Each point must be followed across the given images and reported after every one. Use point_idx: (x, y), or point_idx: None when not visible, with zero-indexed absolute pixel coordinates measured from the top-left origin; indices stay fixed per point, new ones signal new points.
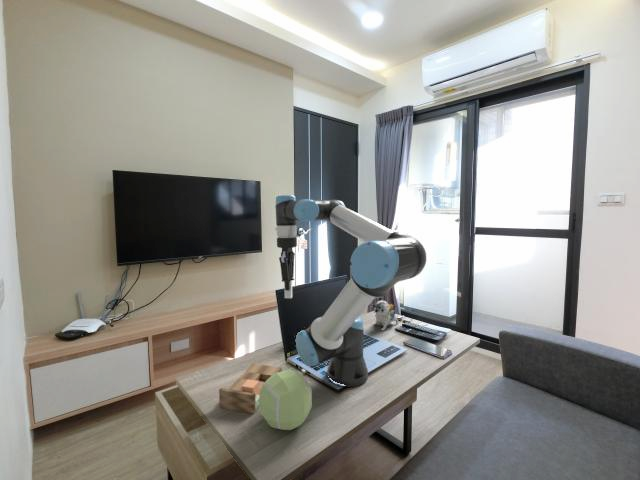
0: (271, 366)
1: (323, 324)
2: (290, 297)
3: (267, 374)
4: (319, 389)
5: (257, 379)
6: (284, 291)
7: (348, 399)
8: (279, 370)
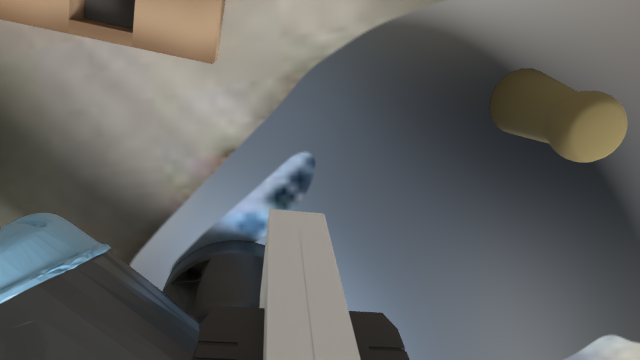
0: (216, 7)
1: None
2: (261, 290)
3: (137, 2)
4: (134, 219)
5: None
6: (268, 260)
7: None
8: (183, 56)
